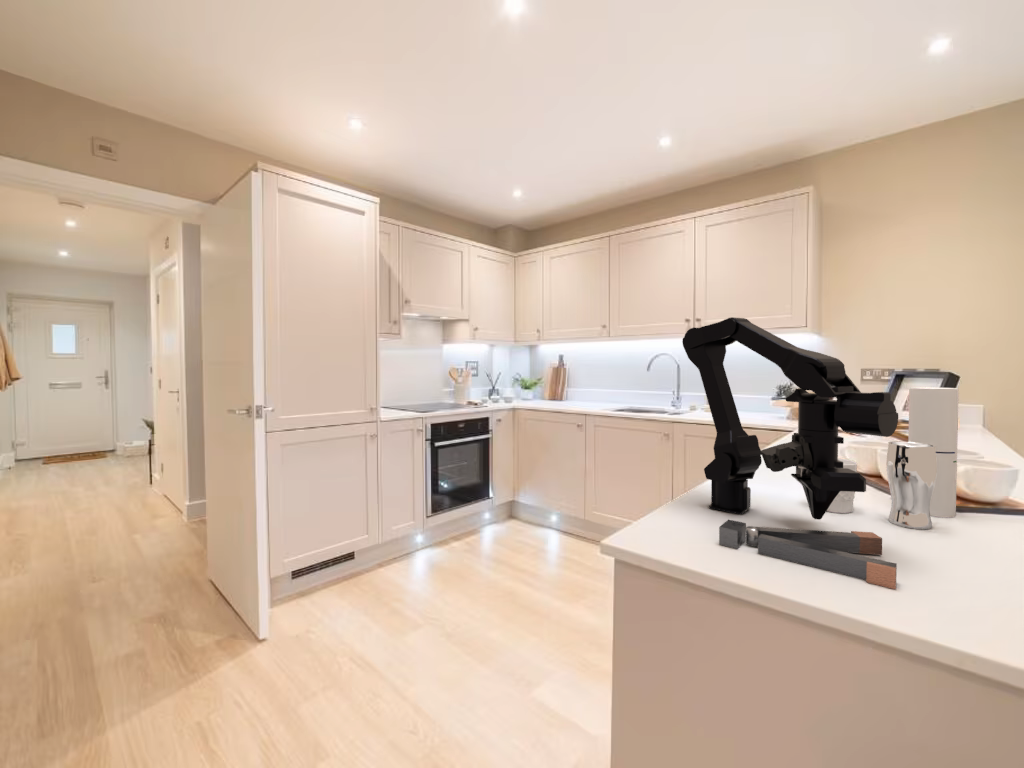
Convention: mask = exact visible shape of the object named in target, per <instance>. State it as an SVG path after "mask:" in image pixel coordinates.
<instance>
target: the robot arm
mask: <svg viewBox="0 0 1024 768" xmlns="http://www.w3.org/2000/svg"><path fill="white" fill-rule="evenodd" d="M681 342H682V347H683V349H684V351H685V354H686V357H687V359H689V360H690V361H691V363H692V365H694V366H695V368H696V369H698V372H699V375H700V379H701V381H702V386H703V389H704V392H705V396H706V399H707V403H708V407H709V409H710V413H711V417H712V420H713V424H714V427H715V431H716V437H715V440H714V445H713V454H714V458H713V460H712V461H710V462H709V463H708V465H706V466H705V467H704V469H703V472H704V475H705V478H706V480H709V481H711V487H710V488H711V499H710V501H711V503H710V504H708V507H707V508H709V509H710V510H711V509H712V510H716V511H720V512H721V511H722V512H726V513H732V514H737V515H743V514H744V513H745V512H747V511H748V510H749V509H750V508H751V491H752V490H751V487H749V486H748V485H749V481H748V480H752V479H753V480H754V476H755V474H756V471H757V470H759V467H760V466H761V464H762V459H763V461H764V465H765V467H766V469H770V471H771V472H776V473H777V472H778V473H779V472H781V471H784V470H785V469H788V468H791V467H795V473H791V474H790V476H791V477H792V478H794V479H795V480H796V481H797V482H798V483H800V485H801V486H802V488H803V491H804V494H805V498H806V501H807V506H808V509H809V511H810V515H811V518H812V519H814V520H820V521H821V520H822V518H823V517H824V515H825V514H826V512H828V511H827V509H828V508H829V506H830V505H831V503H832V502H833V500H834V499H835V497H836V496H837V495H838V493H839V492H840V491H850V492H855V493H865V492H867V479H866V478H865V477H864V476H863V475H862V474H861V473H860V472H858V471H857V472H855V471H853V470H850V469H848V468H843V462H842V461H839V460H838V458H839V445H840V444H844V443H845V442H844V440H845V439H844V437H842V436H839V428H840V430H841V431H842V432H844V433H848V434H858V435H865V436H876V437H883V438H884V437H885V438H889V437H892V435H893V434H895V431H896V430H897V427H898V423H899V413H898V412H897V408H896V405H895V404H894V402H893V401H892V400H891V392H888V391H879V392H876V391H875V392H862V391H860V389H859V388H858V387H857V385H855V383H854V382H853V380H852V379H851V378H850V377H849V376H848V375H847V374H846V369H845V364H844V363H843V362H842V361H841V360H840V359H839V358H836V357H834V356H831V355H828V354H824V353H821V352H816V351H813V350H808V349H804V348H802V347H799V346H796V345H795V344H792V343H791V342H788V341H786V340H784V339H783V338H781V337H779V336H777V335H775V334H773V333H771V332H769V331H768V330H766V329H764V328H762V327H760V326H758V325H756V324H754V323H753V322H751V321H750V320H749V319H748V318H745V317H728V318H725V319H723V320H721V321H719V322H715V323H711V324H706V325H702V326H700V327H691V328H689V329H688V330H687V331H685V333H684V336H683V337H682V341H681ZM735 342H738V343H739V344H741V345H742V346H745V347H746V348H747V349H749V350H751V351H753V352H755V353H756V354H758V355H759V356H761V357H763V358H764V359H766V360H768V361H770V362H771V363H773V364H775V365H776V366H777V367H778V368H780V369H781V371H782V373H783V375H784V376H785V377H786V378H787V379H788V380H789V381H791V383H793V384H794V385H795V386H797V387H798V388H796V389H795V390H794V391H793V392H792V393H791V394H789V395H788V396H787V397H785V398H784V399H785V401H786V402H788V403H798V409H797V410H798V412H797V413H798V415H797V417H798V418H797V420H798V421H797V425H798V426H797V432H793V434H792V435H791V441H789V442H785V443H781V444H777V445H773V446H771V447H767V448H763V449H761V447H760V444H759V443H760V442H759V438H758V437H757V434H751V435H749V434H748V433H747V431H746V430H745V429H744V428H743V426H742V423H741V418H740V416H739V413H738V409H737V407H736V403H735V399H734V396H733V393H732V390H731V387H730V384H729V380H728V376H727V372H726V370H725V365H724V361H725V358H726V354H727V346H729V345H732V344H734V343H735ZM808 391H812V393H811V392H808ZM830 398H836V399H830Z"/></svg>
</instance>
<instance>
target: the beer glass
mask: <svg viewBox="0 0 1024 768" xmlns="http://www.w3.org/2000/svg"><path fill="white" fill-rule="evenodd" d="M887 443H888V444H887V445H888V446H887V452H886V475H887V482H888V486H889V492H890V499H891V507H890V511H889V515H888V522H889V523H891V524H893V525H896V526H899V527H903V528H907V529H913V530H921V531H922V530H924V531H925V530H927V531H928V530H932V528H933V522H932V518H931V517H932V516H930V501H931V497H932V493H933V490H934V486H935V481H936V476H937V458H936V446H935V445H932V444H926V443H918V442H908V441H904V440H903V441H901V440H900V441H897V440H895V441H894V440H893V441H889V442H887Z"/></svg>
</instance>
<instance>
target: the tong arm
mask: <svg viewBox="0 0 1024 768" xmlns="http://www.w3.org/2000/svg"><path fill="white" fill-rule="evenodd" d="M850 531H851V530H850ZM761 534H764V535H768V536H773V537H777V538H782V539H787V540H791V541H796V542H800V543H805V544H810V545H814V546H819V547H823V548H828V549H832V550H837V551H842V552H846V553H851V554H859V555H860V554H862V555H864V554H865V555H874V556H875V555H876V556H882V555H883V538H882V537H880V536H879V535H877V534H876V533H874V532H873V531H872V532H870V531H869V532H868V531H856V530H855V531H854V530H852V531H851V532H846V531H844V532H843V531H830V530H829V531H828V530H812V529H797V528H785V527H784V528H782V527H780V528H779V527H765V526H753V525H749V526H747V525H746V541H745V544H746V545H748V546H751V547H758V537H759V536H760V535H761Z"/></svg>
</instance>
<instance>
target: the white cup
mask: <svg viewBox="0 0 1024 768" xmlns="http://www.w3.org/2000/svg"><path fill="white" fill-rule="evenodd" d="M838 460H839V461H842V462H843V468H848V469H850V470H853V471H855V472H858V471H857V470H858V463H857V461H854V460H851V459H846V458H841V457H838ZM855 494H856V492H850V491H840V492H839V493H838V495H837V496H836V497H835V499H834V500H833V502H832V503H831V505H830V506H829V508H828V509H827V511H826V512H829V513H834V514H835V513H836V514H849V513H850V514H851V513H852V512H853V510H854V499H855V497H856V496H855Z"/></svg>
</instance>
